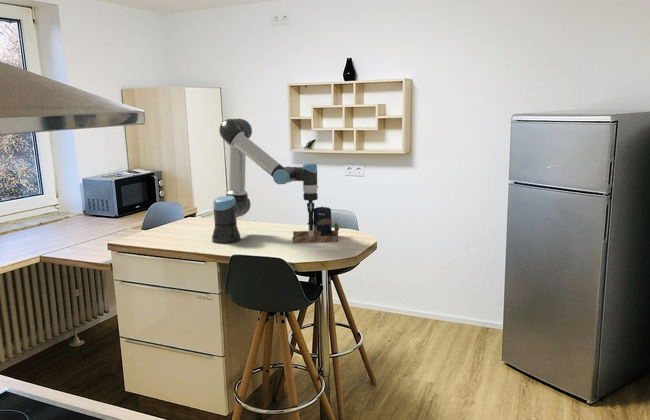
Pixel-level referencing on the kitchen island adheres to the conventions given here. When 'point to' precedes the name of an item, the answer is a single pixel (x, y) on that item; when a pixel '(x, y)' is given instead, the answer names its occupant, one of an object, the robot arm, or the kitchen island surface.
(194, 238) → the kitchen island surface
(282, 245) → the kitchen island surface
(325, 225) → the canister
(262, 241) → the kitchen island surface
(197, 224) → the kitchen island surface
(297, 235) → the bay
